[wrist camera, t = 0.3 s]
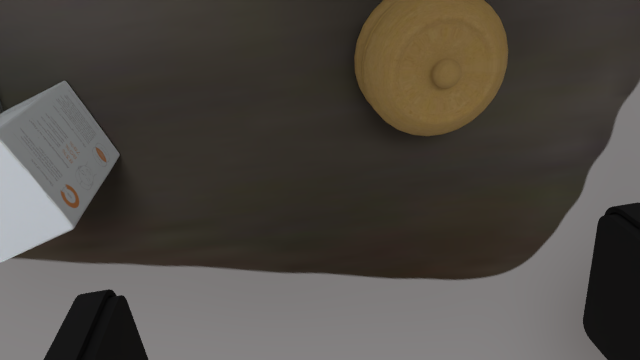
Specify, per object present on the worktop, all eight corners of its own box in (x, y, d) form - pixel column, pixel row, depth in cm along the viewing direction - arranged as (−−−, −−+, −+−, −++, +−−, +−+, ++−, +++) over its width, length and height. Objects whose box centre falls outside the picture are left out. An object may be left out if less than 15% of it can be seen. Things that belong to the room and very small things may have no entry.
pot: (351, -23, 41) (377, -14, 32) (484, -20, 42) (545, -10, 34) (343, 112, 46) (364, 152, 37) (463, 111, 48) (511, 150, 39)
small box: (3, 110, 43) (-92, 173, 31) (66, 78, 42) (-7, 129, 30) (64, 184, 46) (-2, 266, 34) (122, 155, 46) (76, 228, 34)
